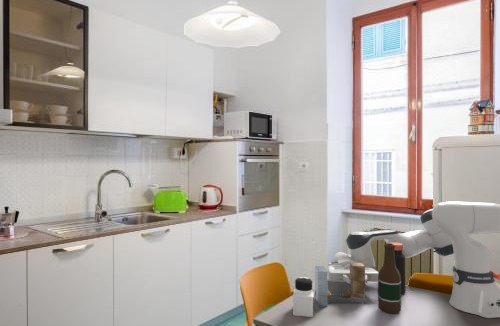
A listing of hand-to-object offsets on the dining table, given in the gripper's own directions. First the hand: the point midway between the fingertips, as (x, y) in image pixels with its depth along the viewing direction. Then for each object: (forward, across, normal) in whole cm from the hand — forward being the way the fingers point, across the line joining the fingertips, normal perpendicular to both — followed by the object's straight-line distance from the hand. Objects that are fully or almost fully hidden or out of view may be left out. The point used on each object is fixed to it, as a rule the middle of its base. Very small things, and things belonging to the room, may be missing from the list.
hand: (358, 281), depth 130 cm
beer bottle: (+7, -9, -8) cm, 14 cm away
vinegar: (-11, -19, -8) cm, 23 cm away
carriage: (-1, +2, -6) cm, 6 cm away
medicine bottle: (+9, +22, -8) cm, 25 cm away
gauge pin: (-1, +13, -6) cm, 14 cm away
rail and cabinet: (+1, +7, -8) cm, 10 cm away
